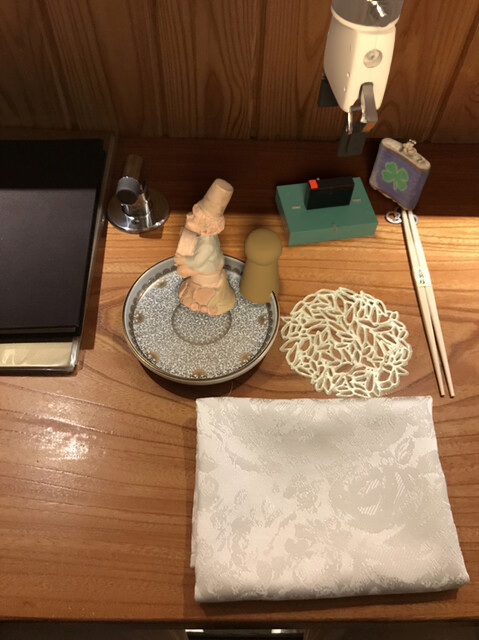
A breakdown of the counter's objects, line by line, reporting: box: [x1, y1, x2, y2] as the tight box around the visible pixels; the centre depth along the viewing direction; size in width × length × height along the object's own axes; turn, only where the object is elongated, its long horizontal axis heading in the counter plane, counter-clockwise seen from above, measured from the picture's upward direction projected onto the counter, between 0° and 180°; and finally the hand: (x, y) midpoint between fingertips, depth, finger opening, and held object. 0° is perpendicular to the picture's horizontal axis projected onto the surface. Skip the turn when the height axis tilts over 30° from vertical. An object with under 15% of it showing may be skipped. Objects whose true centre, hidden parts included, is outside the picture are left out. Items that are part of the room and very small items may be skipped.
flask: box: [368, 137, 432, 211], centre depth 90 cm, size 9×3×11 cm, turn 44°
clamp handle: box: [304, 175, 355, 210], centre depth 87 cm, size 7×2×5 cm, turn 100°
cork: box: [238, 227, 284, 305], centre depth 79 cm, size 6×6×11 cm
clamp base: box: [274, 176, 379, 247], centre depth 90 cm, size 14×11×3 cm
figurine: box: [172, 178, 237, 316], centre depth 74 cm, size 9×8×20 cm
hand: (338, 129), depth 75 cm, fingers open, 9 cm apart
